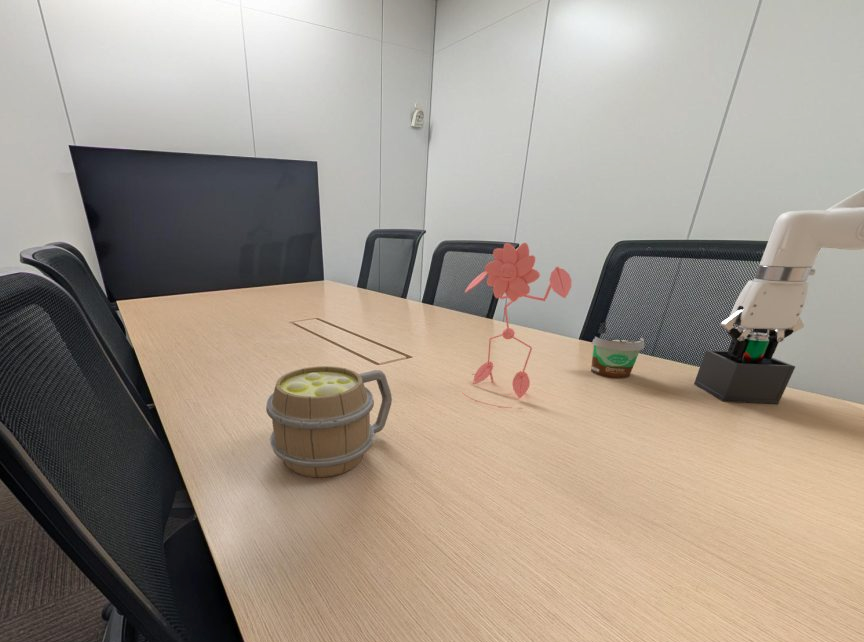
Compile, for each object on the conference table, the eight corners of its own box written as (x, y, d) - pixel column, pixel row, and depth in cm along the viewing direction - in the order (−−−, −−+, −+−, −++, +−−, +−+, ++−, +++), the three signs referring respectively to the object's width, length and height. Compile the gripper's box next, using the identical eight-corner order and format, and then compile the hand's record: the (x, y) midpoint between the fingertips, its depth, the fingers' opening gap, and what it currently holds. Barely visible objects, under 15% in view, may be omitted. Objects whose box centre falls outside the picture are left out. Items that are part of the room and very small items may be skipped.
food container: (594, 379, 100) (603, 342, 96) (585, 371, 105) (593, 336, 101) (645, 380, 98) (656, 343, 94) (633, 372, 103) (643, 337, 99)
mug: (420, 451, 69) (424, 376, 63) (297, 500, 58) (288, 413, 52) (365, 414, 84) (364, 350, 78) (259, 446, 72) (248, 374, 67)
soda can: (743, 380, 90) (764, 331, 85) (756, 388, 85) (778, 337, 81) (717, 378, 91) (736, 330, 87) (729, 386, 87) (749, 335, 82)
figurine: (468, 372, 106) (482, 241, 93) (559, 402, 87) (593, 242, 74) (431, 385, 98) (440, 243, 85) (522, 421, 79) (553, 245, 65)
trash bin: (742, 386, 93) (757, 351, 89) (778, 404, 83) (795, 366, 80) (693, 384, 95) (705, 350, 91) (722, 401, 85) (737, 364, 82)
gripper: (814, 272, 80) (779, 353, 87) (721, 273, 84) (695, 350, 91) (849, 276, 74) (808, 363, 81) (746, 277, 77) (716, 360, 84)
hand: (748, 356), depth 85 cm, fingers closed on soda can, 5 cm apart
